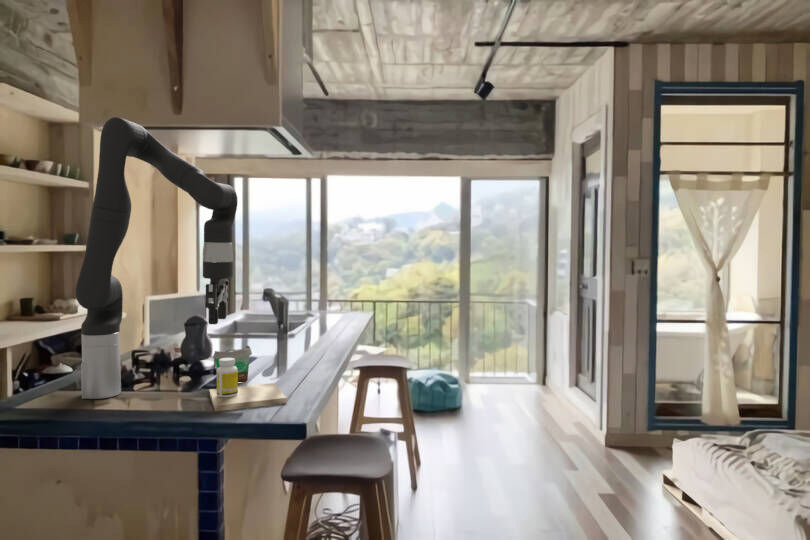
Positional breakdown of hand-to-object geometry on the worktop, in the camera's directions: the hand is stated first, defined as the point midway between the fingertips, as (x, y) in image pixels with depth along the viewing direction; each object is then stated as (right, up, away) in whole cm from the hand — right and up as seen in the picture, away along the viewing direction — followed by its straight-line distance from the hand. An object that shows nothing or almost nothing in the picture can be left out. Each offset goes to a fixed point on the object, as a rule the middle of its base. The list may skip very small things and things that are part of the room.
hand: (217, 321), depth 147 cm
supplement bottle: (+2, -20, +2) cm, 20 cm away
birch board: (+6, -21, +4) cm, 23 cm away
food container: (-1, -21, +22) cm, 30 cm away
